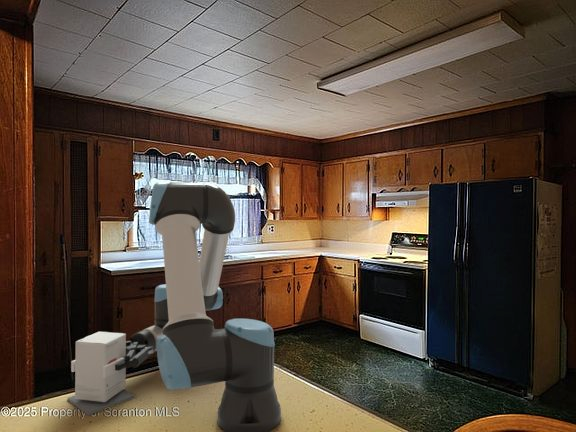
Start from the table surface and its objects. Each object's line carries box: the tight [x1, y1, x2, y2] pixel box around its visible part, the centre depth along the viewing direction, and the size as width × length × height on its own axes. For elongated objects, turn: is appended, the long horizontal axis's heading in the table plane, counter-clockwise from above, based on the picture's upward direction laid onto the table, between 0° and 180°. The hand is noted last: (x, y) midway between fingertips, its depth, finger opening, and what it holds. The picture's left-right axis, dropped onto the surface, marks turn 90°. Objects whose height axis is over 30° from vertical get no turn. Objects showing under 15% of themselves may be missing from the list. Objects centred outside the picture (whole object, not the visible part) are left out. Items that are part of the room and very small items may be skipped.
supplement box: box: [74, 331, 127, 402], centre depth 103 cm, size 9×9×15 cm
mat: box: [67, 388, 136, 416], centre depth 103 cm, size 12×12×1 cm
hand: (87, 369), depth 99 cm, fingers closed on supplement box, 9 cm apart
